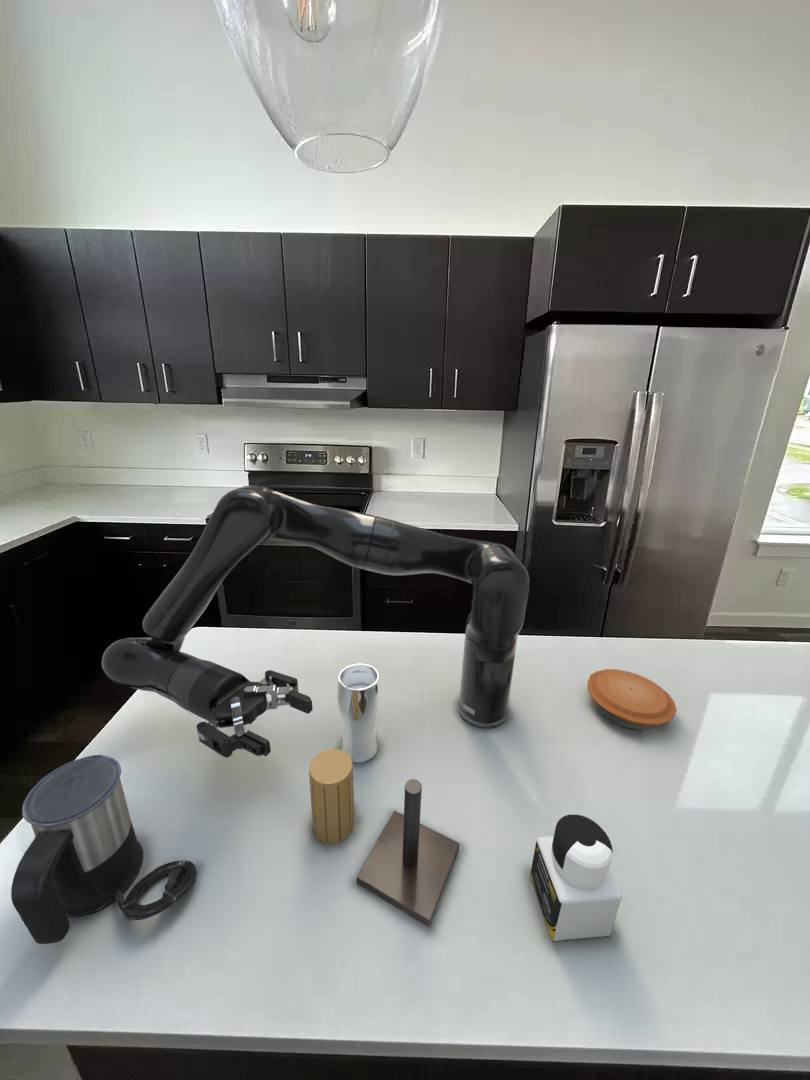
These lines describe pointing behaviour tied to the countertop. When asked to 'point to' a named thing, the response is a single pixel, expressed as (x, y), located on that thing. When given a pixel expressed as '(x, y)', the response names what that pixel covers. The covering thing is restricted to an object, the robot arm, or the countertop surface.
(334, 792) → the grooved tan cylinder
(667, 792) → the countertop surface
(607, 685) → the pie
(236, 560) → the robot arm
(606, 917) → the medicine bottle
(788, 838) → the countertop surface
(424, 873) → the peg stand
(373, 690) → the chrome tumbler
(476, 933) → the countertop surface
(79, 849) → the milk frother
